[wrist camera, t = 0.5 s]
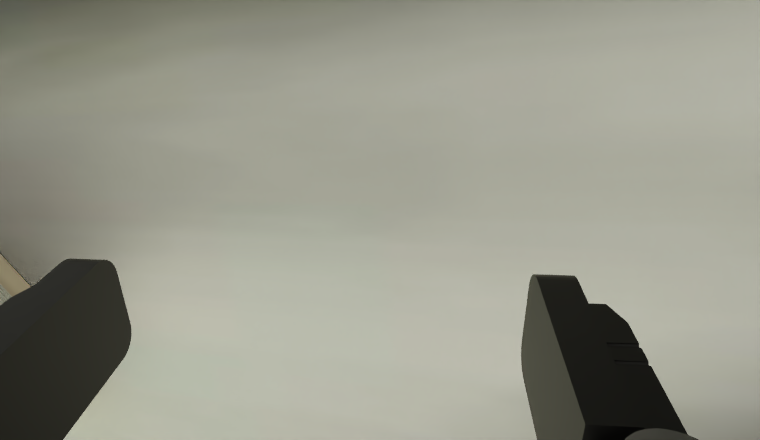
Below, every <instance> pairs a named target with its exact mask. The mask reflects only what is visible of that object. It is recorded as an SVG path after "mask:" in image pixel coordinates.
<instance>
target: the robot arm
mask: <svg viewBox="0 0 760 440" xmlns="http://www.w3.org/2000/svg"><path fill="white" fill-rule="evenodd" d="M130 341H131V325H130V320H129V317H128V313H127V309H126V305H125V301H124V297H123V294H122V290H121V286H120V282H119V278H118V275H117V271H116V268H115V266H114V265H113V264H112V263H111V262H110V261H108V260H90V259H67V260H64V261H63V262H61V263H60V264H59V265H58V266H57V267H56V268H54V269H53V270H52V271H51V272H50V273H48V274H47V275H46V276H45V277H44V278H43V279H41V280H40V281H39V282H38V283H37V284H36V285H34V286H32V287H30V288H28V289H26V290H24V291H22V292H20V293H18V294H16V295H14V296H13V297H11V298H9V299H8V300H7V301H5V302H4V303H3V304H2V305H1V306H0V440H63V439H64V438H65V436H66V435H67V434H68V432H69V431H70V430H71V428H72V427H73V426H74V424H75V423H76V422H77V420H78V419H79V417H80V416H81V415H82V413H83V412H84V411H85V409H86V408H87V407H88V405H89V404H90V403H91V401H92V400H93V399H94V397H95V396H96V395H97V393H98V392H99V391H100V389H101V388H102V387H103V385H104V384H105V383H106V381H107V380H108V379H109V377H110V376H111V375H112V373H113V372H114V371H115V369H116V368H117V367H118V365H119V364H120V363H121V361H122V360H123V359H124V357H125V355H126V353H127V351H128V349H129V345H130ZM521 361H522V372H523V378H524V383H525V387H526V392H527V396H528V401H529V405H530V410H531V414H532V419H533V423H534V428H535V432H536V436H537V440H698V439H696V438H694V437H691V436H689V435H688V434H687V432H686V431H685V429H684V427H683V425H682V423H681V421H680V419H679V417H678V416H677V414H676V412H675V410H674V408H673V406H672V404H671V403H670V401H669V399H668V397H667V395H666V393H665V391H664V390H663V388H662V386H661V384H660V382H659V380H658V378H657V376H656V375H655V373H654V371H653V369H652V367H651V366H649V365H648V360H647V358H646V356H645V354H644V352H643V350H642V349H641V348H639V343H638V341H637V339H636V337H635V335H634V334H633V332H632V330H631V328H630V326H629V324H628V323H627V322H626V321H625V320H624V319H623V318H622V317H620V316H619V315H618V314H617V313H616V312H614V311H613V310H612V309H611V308H610V307H609V306H607V305H606V304H588V301H587V299H586V297H585V295H584V293H583V290H582V288H581V286H580V284H579V282H578V280H577V278H576V277H575V276H566V275H535V274H534V275H532V277H531V280H530V284H529V291H528V299H527V306H526V314H525V322H524V330H523V337H522V348H521Z"/></svg>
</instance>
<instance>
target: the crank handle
mask: <svg viewBox="0 0 760 440" xmlns="http://www.w3.org/2000/svg"><path fill="white" fill-rule="evenodd" d="M11 297H12V296H11V295H10V294H9V293H8V292H7V291H6V290H5V288H4V287H3V286H2V285H1V284H0V306H1V305H2V304H3V303H4V302H5V301H7V300H8V299H9V298H11Z"/></svg>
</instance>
